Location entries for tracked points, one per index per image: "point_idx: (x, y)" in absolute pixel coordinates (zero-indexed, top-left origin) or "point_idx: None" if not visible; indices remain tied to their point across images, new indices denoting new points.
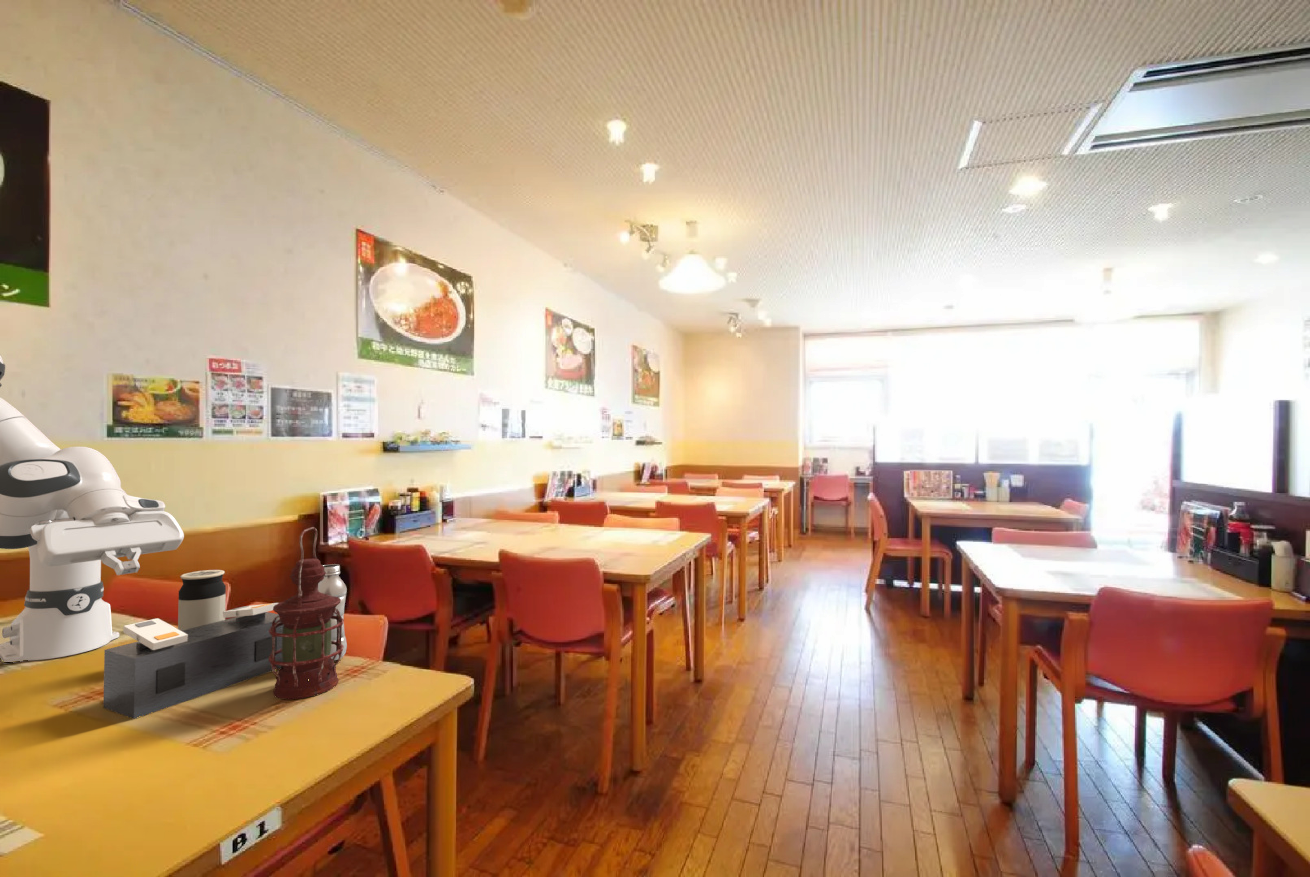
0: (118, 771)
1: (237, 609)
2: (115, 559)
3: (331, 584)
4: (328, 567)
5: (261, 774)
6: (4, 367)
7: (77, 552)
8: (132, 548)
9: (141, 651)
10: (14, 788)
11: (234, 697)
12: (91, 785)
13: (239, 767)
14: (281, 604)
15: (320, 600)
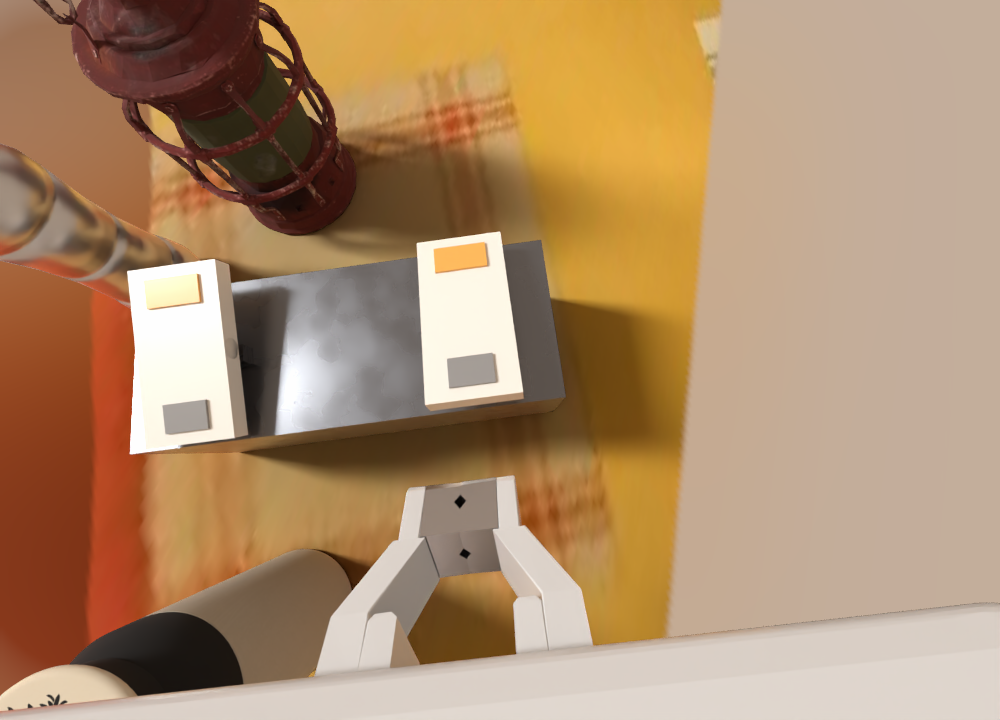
0: (604, 112)
1: (205, 392)
2: (527, 552)
3: None
4: None
5: None
6: None
7: (823, 624)
8: (373, 668)
9: (513, 290)
10: (704, 171)
11: (393, 249)
12: (636, 99)
13: (505, 3)
14: (217, 32)
15: None
